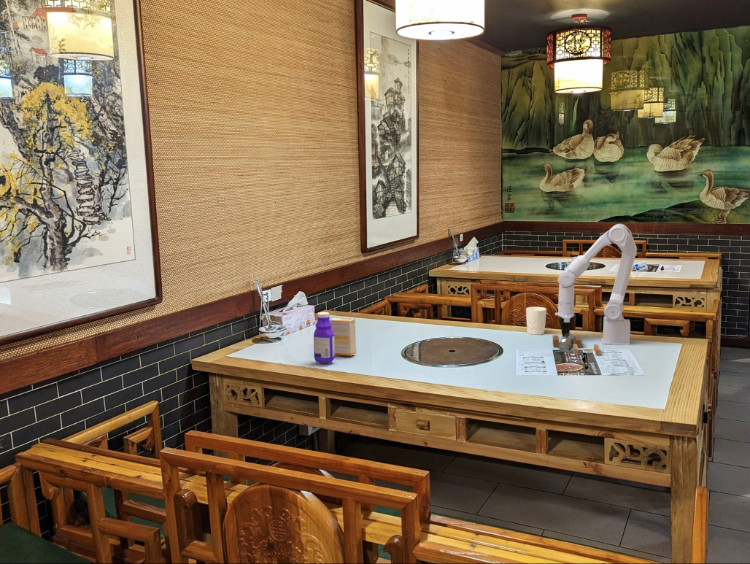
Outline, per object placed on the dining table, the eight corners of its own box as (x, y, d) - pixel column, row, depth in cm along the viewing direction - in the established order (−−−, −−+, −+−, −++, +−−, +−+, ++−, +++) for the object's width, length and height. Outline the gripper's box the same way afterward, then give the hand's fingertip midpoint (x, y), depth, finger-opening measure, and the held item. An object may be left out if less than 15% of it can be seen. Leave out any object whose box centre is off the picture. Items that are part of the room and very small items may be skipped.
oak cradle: (597, 351, 242) (597, 344, 241) (600, 357, 233) (600, 350, 232) (572, 350, 243) (572, 343, 243) (574, 356, 235) (574, 349, 234)
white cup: (547, 335, 267) (548, 310, 265) (527, 335, 267) (528, 310, 265) (543, 330, 275) (543, 306, 273) (524, 330, 275) (524, 306, 273)
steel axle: (564, 343, 255) (563, 333, 254) (575, 343, 253) (574, 333, 253) (558, 351, 244) (558, 340, 244) (570, 351, 242) (569, 340, 242)
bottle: (337, 359, 238) (335, 311, 235) (331, 364, 233) (329, 315, 230) (318, 358, 240) (316, 310, 238) (311, 362, 235) (310, 314, 232)
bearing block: (580, 344, 251) (580, 336, 251) (581, 349, 245) (582, 340, 244) (552, 343, 254) (552, 335, 253) (553, 348, 247) (553, 339, 246)
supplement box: (356, 352, 247) (355, 318, 245) (350, 356, 242) (349, 320, 240) (337, 350, 250) (335, 316, 248) (330, 354, 246) (329, 319, 244)
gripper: (554, 298, 265) (553, 332, 267) (556, 305, 251) (555, 340, 253) (573, 298, 263) (572, 332, 265) (575, 306, 249) (574, 341, 251)
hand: (565, 336), depth 259 cm, fingers closed
